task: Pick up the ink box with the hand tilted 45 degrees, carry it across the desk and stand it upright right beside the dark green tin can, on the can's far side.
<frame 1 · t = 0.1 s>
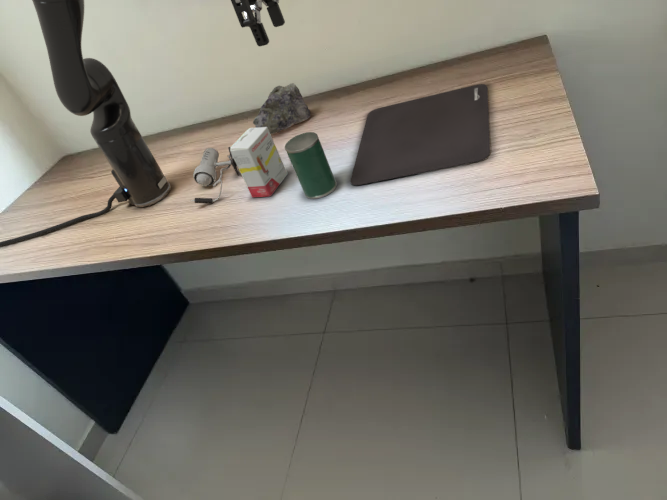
hand: (272, 35, 116), 29 cm above the table, tool pointing down, fingers open, 8 cm apart
mouse pad: (422, 133, 131), on the table
clip-on lamp: (222, 184, 144), on the table
ink box: (270, 186, 135), on the table
mineral rock: (286, 126, 157), on the table
tin can: (320, 189, 127), on the table
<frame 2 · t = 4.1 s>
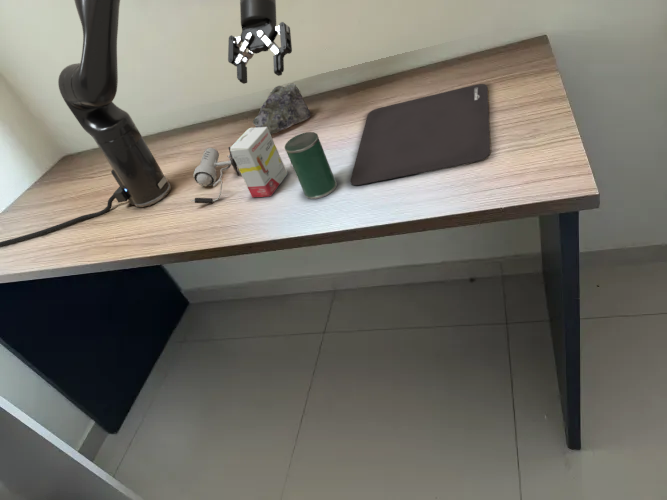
hand: (260, 78, 135), 18 cm above the table, tool tilted 45°, fingers open, 8 cm apart
nothing on the table moved.
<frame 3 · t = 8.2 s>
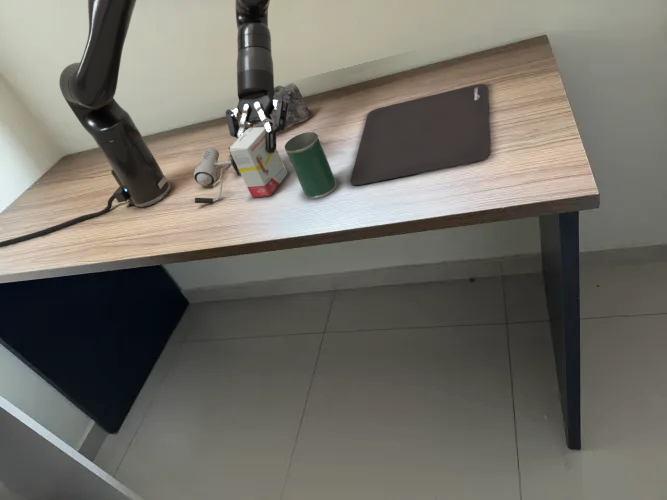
hand: (257, 154, 131), 8 cm above the table, tool tilted 45°, fingers closed on ink box, 5 cm apart
ink box: (270, 186, 135), on the table, touching gripper
everything else where it was.
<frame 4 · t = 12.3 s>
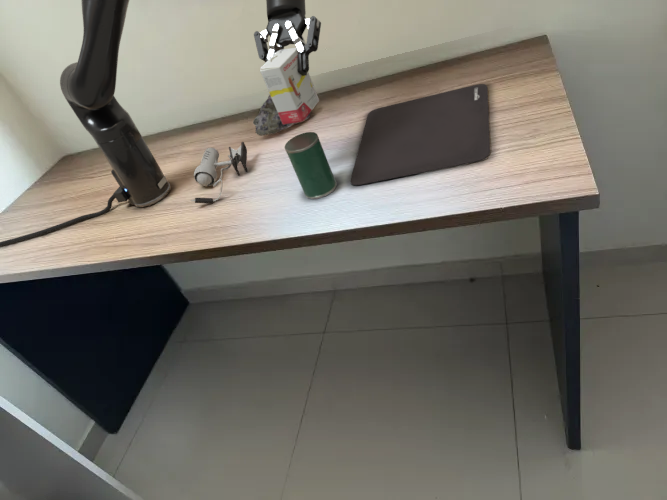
hand: (289, 77, 123), 20 cm above the table, tool tilted 45°, fingers closed on ink box, 5 cm apart
ink box: (302, 113, 127), point 12 cm above the table, touching gripper
everything else where it was.
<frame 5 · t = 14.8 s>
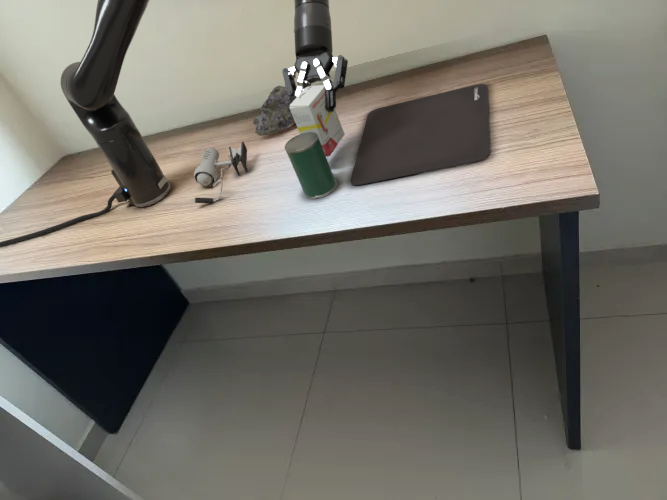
hand: (316, 113, 128), 11 cm above the table, tool tilted 45°, fingers closed on ink box, 5 cm apart
ink box: (328, 147, 132), point 4 cm above the table, touching gripper
everything else where it was.
when the fingers open (8 cm above the table, at t = 16.4 s): ink box stays where it is, on the table.
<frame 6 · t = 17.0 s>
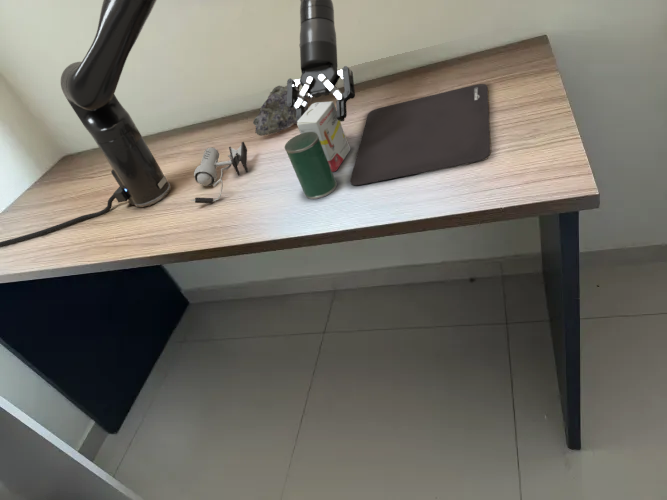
hand: (321, 124, 129), 9 cm above the table, tool tilted 45°, fingers open, 8 cm apart
ink box: (334, 162, 134), on the table
everything else where it was.
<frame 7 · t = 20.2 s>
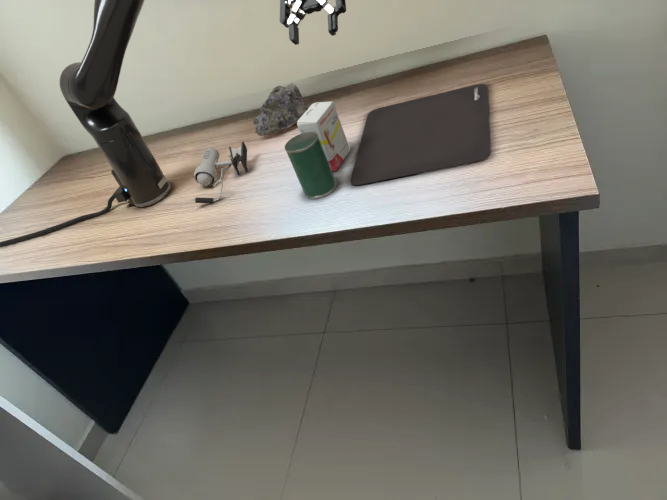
hand: (313, 38, 132), 21 cm above the table, tool tilted 45°, fingers open, 8 cm apart
nothing on the table moved.
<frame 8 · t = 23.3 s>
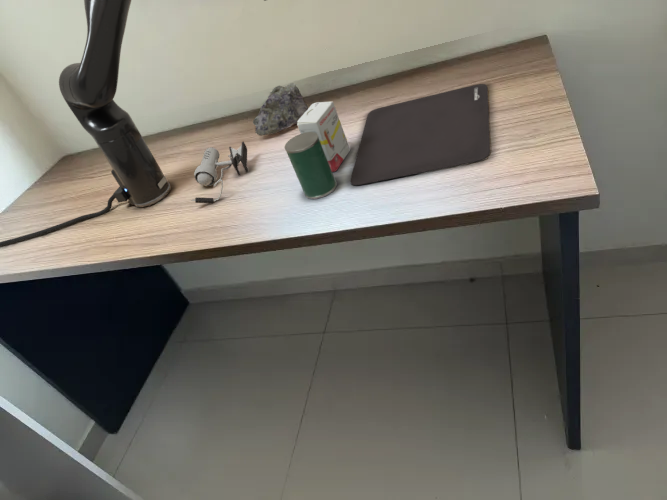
nothing on the table moved.
at the end: ink box inside the target area on the table beside the tin can (0.1 cm from its centre), on the table; ink box tilted 0°; the gripper is holding nothing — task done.
